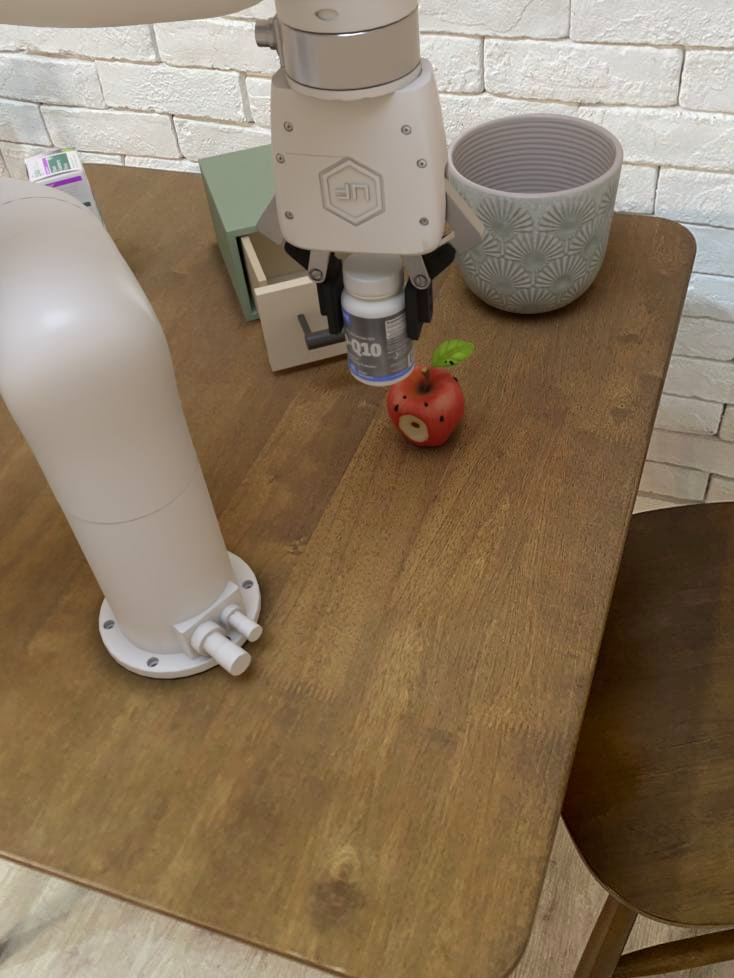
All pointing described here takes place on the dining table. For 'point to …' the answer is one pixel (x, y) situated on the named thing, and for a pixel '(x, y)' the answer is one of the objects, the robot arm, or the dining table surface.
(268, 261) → the drawer
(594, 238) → the planter
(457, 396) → the apple
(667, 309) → the dining table surface
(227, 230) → the cabinet
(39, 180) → the syrup box
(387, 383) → the pill bottle
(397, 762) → the dining table surface
